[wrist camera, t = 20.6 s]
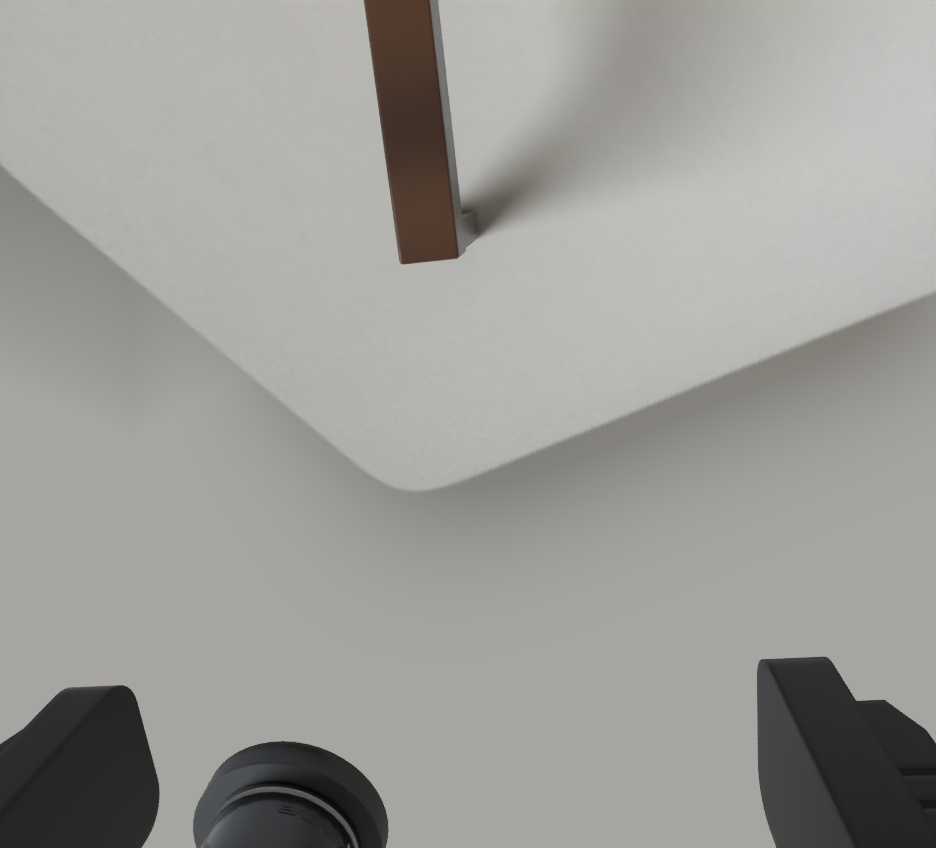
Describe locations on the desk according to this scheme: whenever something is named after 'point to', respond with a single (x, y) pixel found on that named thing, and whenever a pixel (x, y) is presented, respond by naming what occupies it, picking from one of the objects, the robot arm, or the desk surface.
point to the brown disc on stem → (417, 130)
